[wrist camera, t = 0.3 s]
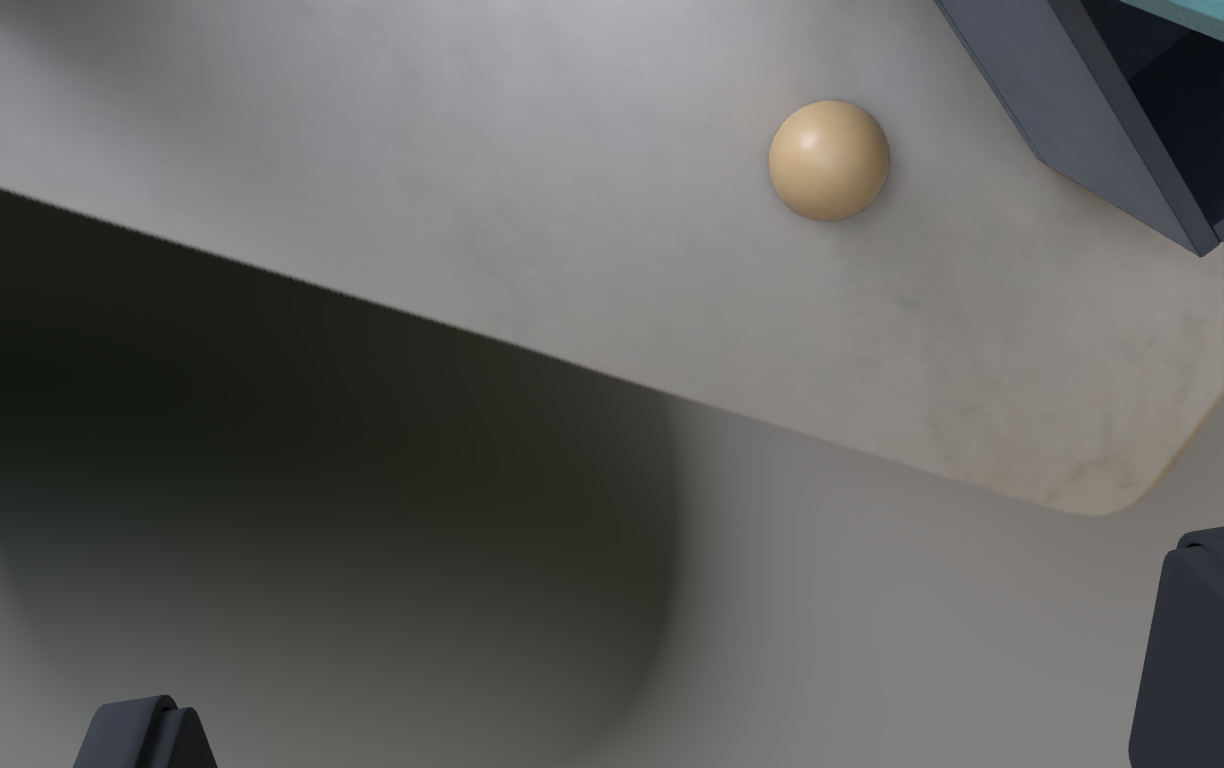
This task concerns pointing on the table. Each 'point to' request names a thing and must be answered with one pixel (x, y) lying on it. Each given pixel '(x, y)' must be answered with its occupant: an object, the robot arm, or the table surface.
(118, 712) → the robot arm
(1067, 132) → the bin
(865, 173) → the light brown ball
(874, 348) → the table surface
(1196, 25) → the lid
